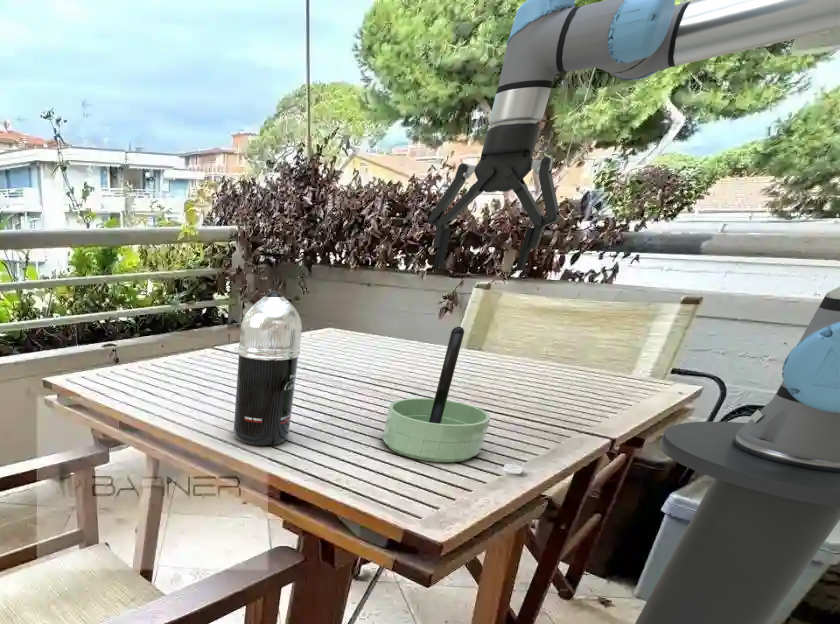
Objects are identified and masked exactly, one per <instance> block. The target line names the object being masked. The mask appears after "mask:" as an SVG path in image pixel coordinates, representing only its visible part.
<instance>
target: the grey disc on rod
mask: <svg viewBox="0 0 840 624" xmlns="http://www.w3.org/2000/svg"><path fill="white" fill-rule="evenodd" d="M464 335H465V329H464V327H462V326H455V327H453V329H451V332H450V337H449V339H448V344H447V348H446V352H445V356H444V359H443V364H442V368H441V372H440V376H439V380H438V383H437V387H436V391H435V395H434V398H433V399H434V403H433V407H432V411H431V415H430V419H429V422H431V423H439V424H441V420H442V416H443V412H444V408H445V404H446V401H447V400H448V397H449V393H450V389H451V385H452V381H453V378H454V377H453V376H454V373H455V370H456V366H457V361H458V358H459V355H460V350H461V347H462V344H463V343H462V342H463V338H464Z"/></svg>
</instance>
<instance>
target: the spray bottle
mask: <svg viewBox="0 0 840 624" xmlns="http://www.w3.org/2000/svg"><path fill="white" fill-rule="evenodd" d="M239 331H240V332H239V343H238V344H239V345H238V350H237V354H238V363H237V377H236V389H235V390H236V391H235V392H236V393H235V407H234V417H233V418H234V420H233V434H234V437H236V439H237V440H239V441H240V442H242V443H245V444H248V445H252V446H253V445H254V446H261V447H263V446H265V447H266V446H273V445H274V446H275V445H278V444H281V443H283V442H284V441H285V440H287V438H288V437H289V434H290V427H291V419H292V411H293V402H294V394H295V387H296V380H297V379H296V378H297V369H298V362H299V356H300V354H301V353H300V351H301V339H302V333H303V332H302V331H303V323H302V318H301V315H300V314H299V312H298V310H297V309H296V308H295V306H294V305H293V304H292V303H291V302H290V301H289V300H288V299H286V298H285V296H284V295H283V294H282V293H281V292H279V291H275V290H272V291H270V292H267V294H265V295H264V296H263V297H262V298H261V299H259V300H258V301H256V302H255V303H254V304H253V305H252V306H251V307H250V308H249V309H248V310H247V312H246V313H245V315H244V316H243V319H242V321H241V324H240V330H239Z"/></svg>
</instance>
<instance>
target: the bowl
mask: <svg viewBox="0 0 840 624" xmlns="http://www.w3.org/2000/svg"><path fill="white" fill-rule="evenodd" d="M434 399H435V398H431V397H430V398H423V397H422V398H421V397H417V398H416V397H415V398H404V399H403V398H402V399H399V400H395V401H393V402H391V403H390V404H389V406H388V410H387V415H386V420H385V425H384V430H383V434H382V435H383V436H382V440H383V442H384V444H385V445H387V447H388V448H389V449H390V450H392V451H393V452H395V453H397V454H399V455H402V456H405V457H408V458H412V459H415V460H421V461H424V462H425V461H426V462H432V463H433V462H435V463H459V462H463V461H467V460H470V459H472V458H473V457H476V456H477V455H479V453H481V450H482V447H483V444H484V441H485V438H486V434H487V431H488V428H489V424H490V422H491V415H490V413H488V412H487V411H486V410H484V409H481V408H479V407H477V406H475V405H472V404H469V403H464V402H460V401H455V400H449V399H447V401H446V404H445V408H444V412H443V416H442V420H441V424H439V423H431V422H429V419H430V415H431V411H432V407H433V403H434Z"/></svg>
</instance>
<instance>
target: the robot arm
mask: <svg viewBox="0 0 840 624" xmlns="http://www.w3.org/2000/svg"><path fill="white" fill-rule="evenodd" d="M836 30H840V0H691V1H687V2H683V3H678V4H676V0H601V1H597V2H593V3H589V4H585V5H581V6H577V5H576V0H526V1H524V2H523V3H522V4H521V5H520V6H519V7H518V8H517V11H516V13H515V15H514V20H513V23H512V27H511V29H510V34H509V37H508V38H507V41H506V49H505V53H504V58H503V63H502V67H501V71H500V76H499V80H498V84H497V89H496V92H495V96H494V100H493V105H492V109H491V112H490V117H489V121H488V124H489V125H490V126H491V127H489V129H488V130H487V131H486V133H485V138H484V141H483V146H482V149H481V154H480V158H479V161H478V163H477V164H469V163H464V162H463V163H460V164H459V165H458V167H457V169H456V173H455V176H454V179H453V180H452V181H451V183H450V185H449V186H448V187H447V189H446V191H445V192H444V194H443V195H442V197H441V199H440V200H439V202H438V203H437V205H436V206H435V208H434V209H433V210H432V212H431V214H430V215H429V216H428V218H427V224H428V225H432V226H434V227H435V229H436V230H435V235H434V240H433V245H432V246H433V248H437V250H436V255H435V259H434V263H433V268H434V269H440V268H444V263H445V259H446V256H447V251H448V246H449V242H450V238H451V234H452V228H453V227H449V225H451V223H452V222H453V221H455V219H456V218H457V217H459V215H460V214H461V213H463V211H464V210H465V209H467V207H468V206H470V204H472V203H473V202H474V201H475V200H476V198H477V197H478V196H480V195H481V194H482V193H483V192H485V193H496V192H502V193H508V192H510V191H513V192H514V194H515V195H516V197H517V198H518V200H519V202H520V204H521V206H522V208H523V210H524V211H525V212H526V214H527V216H528V218H529V220H530V221H531V223H532V224H533V225H532V227H527V228H526V231H525V234H524V239H523V242H522V245H521V249H520V252H519V256H518V259H517V262H516V266H515V270H514V271H515V272H521V271H525V270H526V266H527V263H528V260H529V255H530V253H531V250H534V249H535V250H536V249H537V248H538V247H539V245H540V242H541V239H542V235H543V233H544V230H545V227H547V226H549V225H551V224H555V223H557V222H559V221H560V220H561V213H560V208H559V203H558V198H557V194H556V193H557V192H556V188H555V184H554V183H555V182H554V180H553V179H554V177H553V175H552V172H553V168H554V162H555V160H554V158H553V157H551V156H545V157H543V158H542V159H536V160H534V158H533V156H534V152H535V150H536V149H535V148H536V145H537V141H538V138H539V135H540V130H541V126H540V124H538V122H541V121H542V120H543V119H544V115H545V112H546V108H547V105H548V102H549V98H550V94H551V91H552V87H553V84H554V79H555V78H556V75H557V74H565V73H568V72H575V71H576V72H577V71H582V70H589V69H599V70H602V71H605V72H607V73H609V74H610V75H611V74H612V76H614V77H616V78H617V79H620V80H622V81H639V80H644V79H646V78H648V77H651V76H653V75H654V74H656V73H658V72H659V71H664V70H667V69H670V68H674V67H678V66H681V65H686V64H691V63H695V62H699V61H704V60H708V59H712V58H713V59H714V58H717V57H721V56H725V55H730V54H735V53H740V52H744V51H748V50H752V49H756V48H762V47H765V46H770V45H774V44H778V43H783V42H787V41H792V40H798V39H800V38H804V37H809V36H813V35H818V34H823V33H827V32H832V31H836ZM532 170H534V174H535V175H538V181H539V185H540V191H541V195H542V200H543V202H544V203H543V205H544V208H545V214H546V216H544V215H543V213H542V210H541V209H540V207H539V205H538V204H537V202H536V200H535V198H534V197H533V195H532V193H531V192H530V189H529V188H528V185H527V183H526V181H525V180H524V178H525V177H527V175H528V174H529V173H530V172H531V171H532ZM473 174H474V175H475V177H476V179H477V180H476V181H475V183H473V184H472V186H471V187H470V188H469V189H468V191H467V192H466V193H465V194H464V195H463V196H461V198H460V199H459V200H458V201H457V202H456V203H455V204H454V205H453V206H452V207H451V208H450V209H449V207H450V206H451V204H452V203H453V201H454V199H455V198H456V196H457V195H458V193H459V192H460V190H461V189H462V187H463V186H464V184H465V183H466V181H467V180H468V179H470V178H471V176H472V175H473ZM448 209H449V210H448ZM447 210H448V211H447ZM446 211H447V212H446ZM781 376H782V377H781V378H782V382H781V384H780V385H779V388H778V389H777V391H776V393H775V395H774V396H773V398H772V399H771V400H770V401H769V402H767V404H766V405H764V406H763V407H762V409H760V410H759V409H757V410H755V411H754V413H753V414H752V415H750V416H749V417H750V419H749V420H748V421H747V422H745V423H746V424H745V425H744V426H743V427H742V428H741V429H740V430H739V431H738V432H737V434H736V436H735V438H734V440H733V441H732V444H733V446H734V447H736V448H737V449H739V450H740V451H742V452H745V453H747V454H749V455H752V456H755V457H758V458H761V459H764V460H767V461H771V462H775V463H779V464H783V465H787V466H792V467H797V468H802V469H808V470H814V471H822V472H830V473H840V286H838V287H836V288H834V289H831V290H830V291H827V293H826V294H825V295H824V297H823V299H822V300H821V302H820V304H819V306H818V308H817V309H816V311H815V313H814V314H813V317H812V318H811V320H810V322H809V324H808V325H807V327H806V329H805V331H804V333H803V334H802V336H801V338H800V340H799V341H798V343H797V344H796V346H794V347H793V348H792V349H791V350H790V351H789V353H788V354H787V355H786V357H785V359H784V362H783V365H782V373H781Z"/></svg>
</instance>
